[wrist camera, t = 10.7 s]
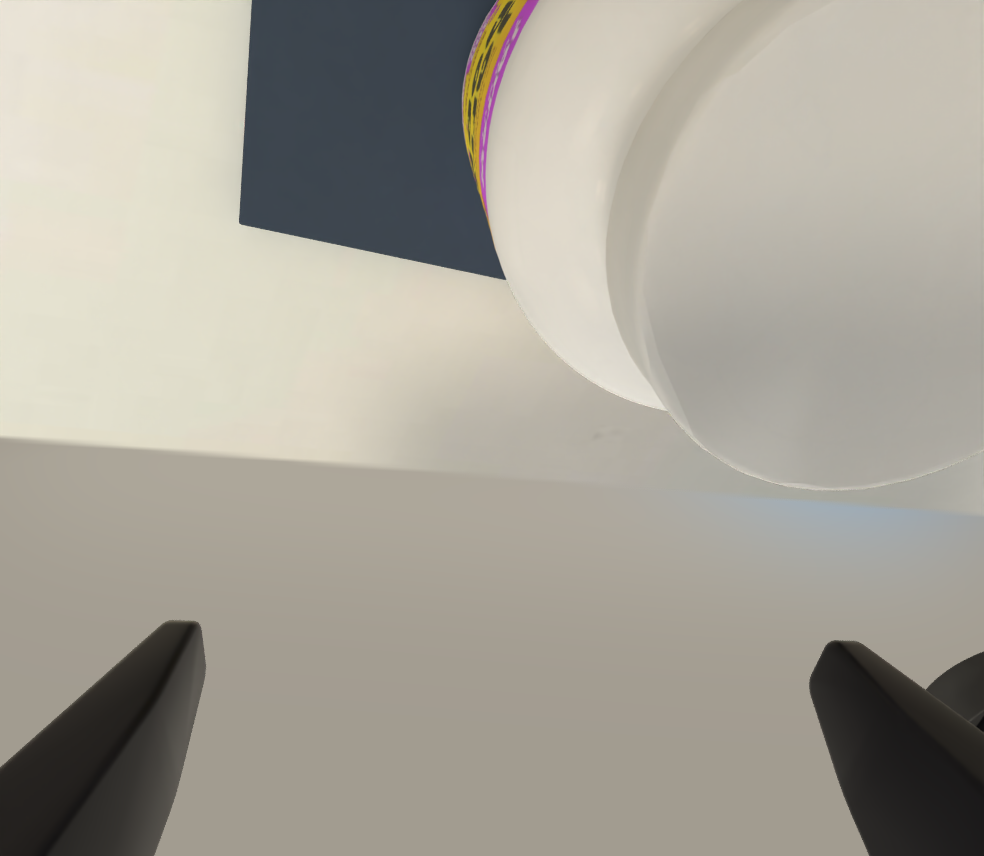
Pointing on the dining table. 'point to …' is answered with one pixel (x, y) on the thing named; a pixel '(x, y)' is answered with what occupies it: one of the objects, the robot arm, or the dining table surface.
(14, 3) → the dining table surface
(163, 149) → the dining table surface
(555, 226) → the supplement bottle
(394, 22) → the placemat
